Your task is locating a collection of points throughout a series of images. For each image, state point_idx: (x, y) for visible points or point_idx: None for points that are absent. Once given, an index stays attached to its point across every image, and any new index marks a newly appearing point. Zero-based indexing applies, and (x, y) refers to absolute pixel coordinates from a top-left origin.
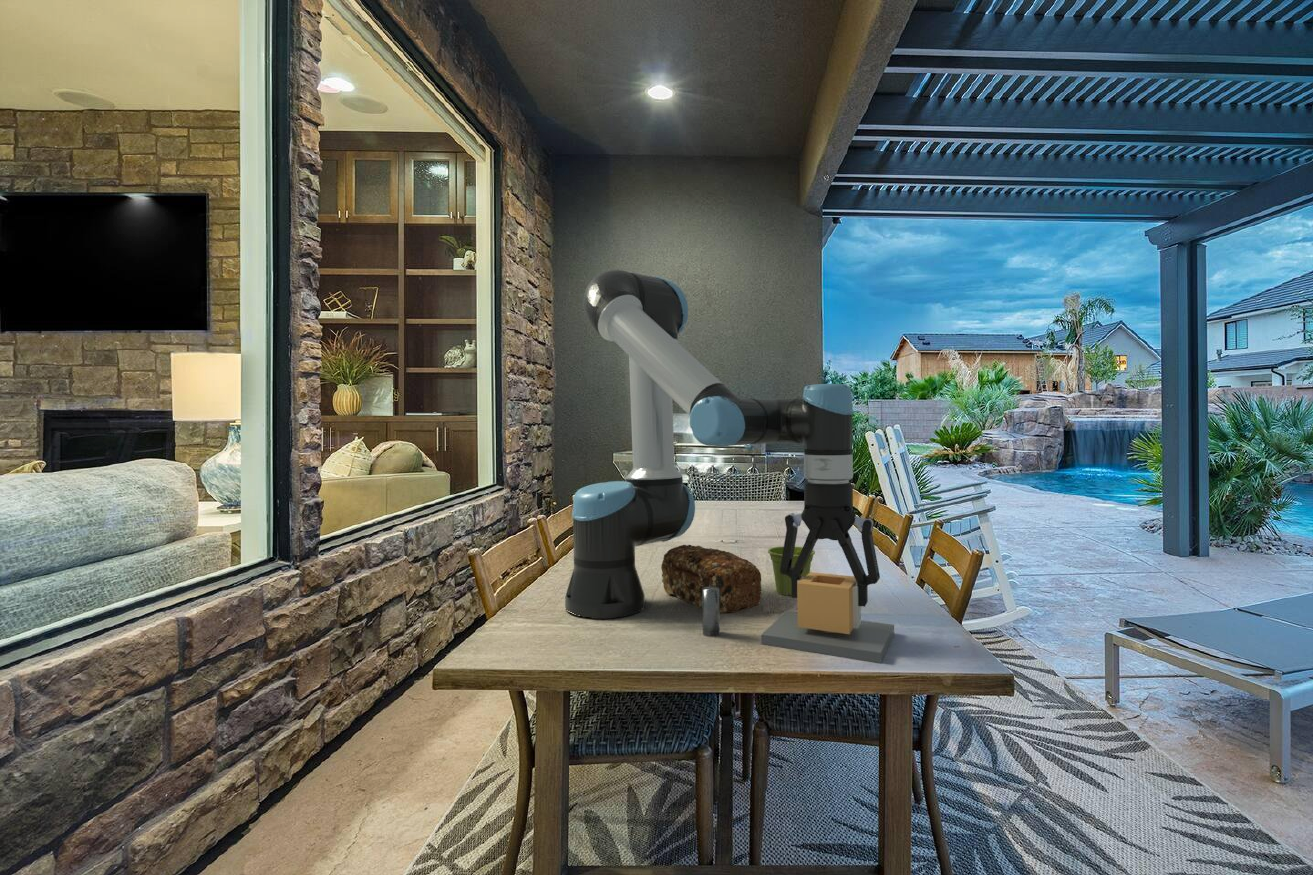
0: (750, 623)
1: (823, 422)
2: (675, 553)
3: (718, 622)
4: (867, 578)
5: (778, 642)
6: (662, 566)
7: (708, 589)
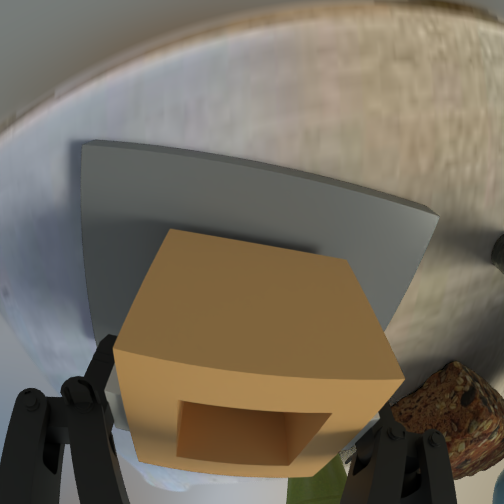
0: (423, 330)
1: None
2: None
3: None
4: (58, 420)
5: (392, 197)
6: None
7: None
